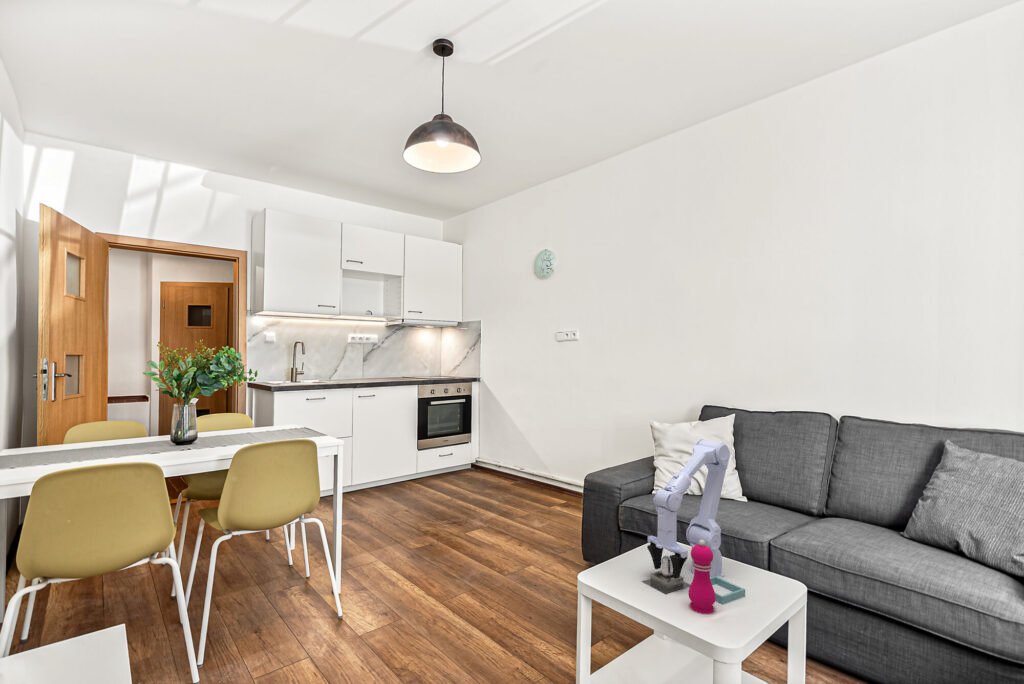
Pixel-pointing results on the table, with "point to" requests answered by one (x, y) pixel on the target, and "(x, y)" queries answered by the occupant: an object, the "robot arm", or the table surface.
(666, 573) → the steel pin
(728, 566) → the table surface
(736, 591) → the tray
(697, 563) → the pepper mill
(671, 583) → the hitch plate
